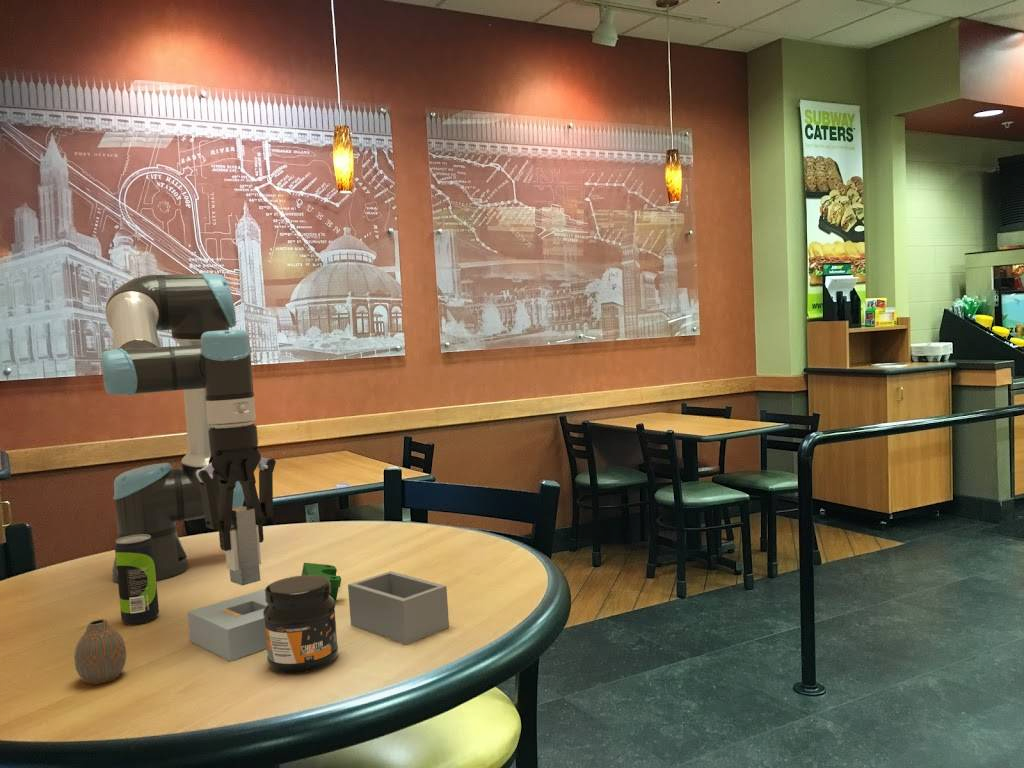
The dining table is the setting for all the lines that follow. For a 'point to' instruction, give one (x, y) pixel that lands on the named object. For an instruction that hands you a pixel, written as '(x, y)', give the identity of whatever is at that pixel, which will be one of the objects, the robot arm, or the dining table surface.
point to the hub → (231, 626)
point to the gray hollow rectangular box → (398, 606)
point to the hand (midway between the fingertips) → (244, 565)
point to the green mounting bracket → (324, 575)
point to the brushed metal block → (245, 546)
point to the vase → (100, 653)
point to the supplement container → (300, 624)
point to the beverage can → (136, 579)
